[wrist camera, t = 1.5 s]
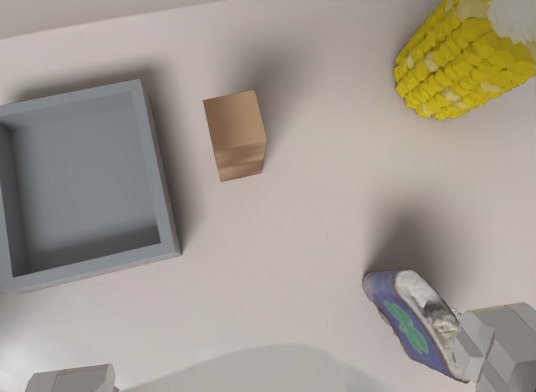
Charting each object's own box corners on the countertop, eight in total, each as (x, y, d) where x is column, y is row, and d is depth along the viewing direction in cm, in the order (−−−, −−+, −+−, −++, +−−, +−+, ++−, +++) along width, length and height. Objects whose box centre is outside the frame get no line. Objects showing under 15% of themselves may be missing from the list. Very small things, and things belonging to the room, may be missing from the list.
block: (251, 134, 43) (254, 89, 33) (261, 173, 42) (267, 138, 32) (211, 143, 42) (202, 100, 33) (220, 182, 42) (214, 149, 32)
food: (441, 38, 48) (479, 120, 47) (354, 58, 44) (393, 148, 43) (568, -74, 34) (628, 40, 33) (458, -60, 30) (521, 70, 29)
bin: (149, 97, 43) (140, 78, 39) (181, 255, 40) (175, 252, 36) (3, 126, 41) (-22, 109, 38) (25, 292, 38) (1, 293, 35)
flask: (355, 280, 40) (395, 278, 30) (380, 263, 41) (428, 255, 30) (414, 368, 39) (477, 398, 29) (439, 349, 40) (510, 372, 29)
